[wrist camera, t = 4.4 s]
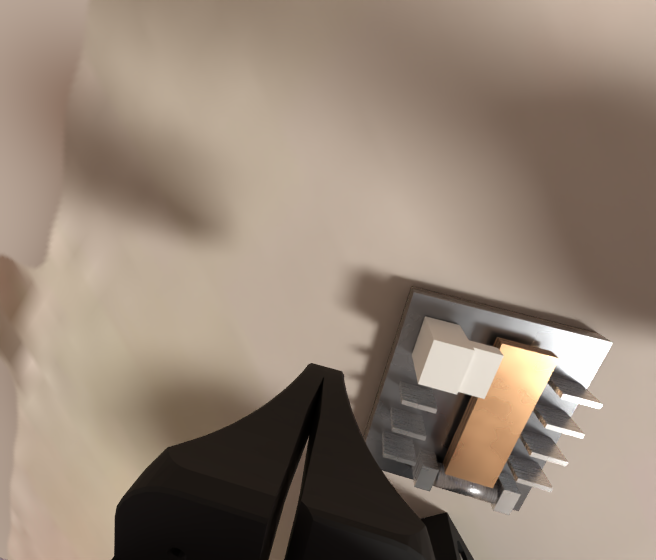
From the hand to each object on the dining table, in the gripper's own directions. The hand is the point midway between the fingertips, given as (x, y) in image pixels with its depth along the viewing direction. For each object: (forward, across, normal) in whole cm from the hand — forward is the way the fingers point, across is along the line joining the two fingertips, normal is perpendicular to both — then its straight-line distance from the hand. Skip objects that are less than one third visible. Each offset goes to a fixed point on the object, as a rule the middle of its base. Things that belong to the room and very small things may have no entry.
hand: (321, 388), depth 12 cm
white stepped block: (+7, -6, 0) cm, 9 cm away
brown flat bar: (+7, -10, +4) cm, 13 cm away
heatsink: (+8, -9, +4) cm, 13 cm away
